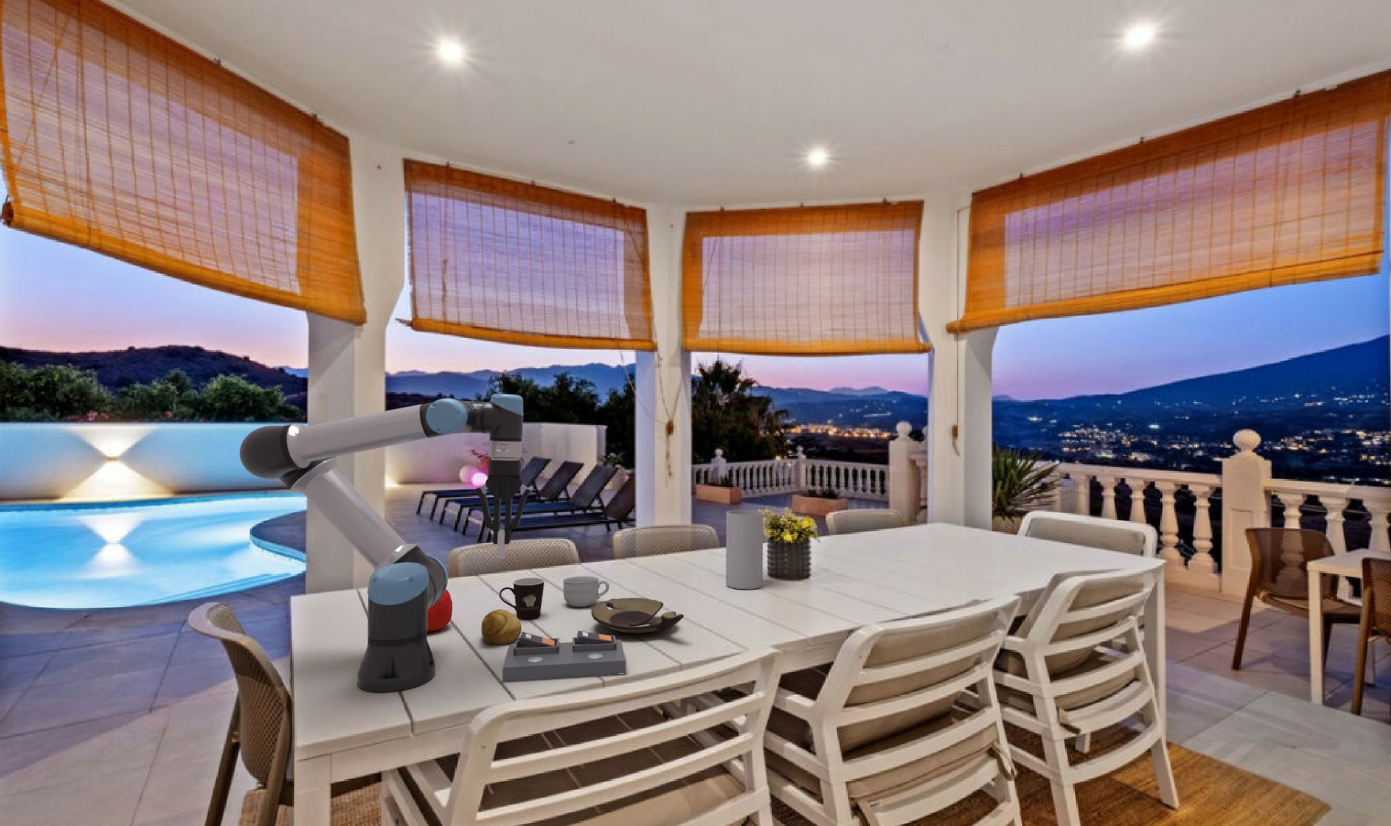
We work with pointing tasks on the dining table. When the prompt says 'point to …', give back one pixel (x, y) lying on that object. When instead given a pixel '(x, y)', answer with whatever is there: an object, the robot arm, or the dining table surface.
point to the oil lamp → (634, 615)
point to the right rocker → (593, 638)
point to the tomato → (440, 613)
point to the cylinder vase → (744, 549)
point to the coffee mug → (527, 597)
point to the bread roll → (500, 627)
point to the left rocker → (535, 640)
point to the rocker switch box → (563, 660)
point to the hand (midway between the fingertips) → (500, 557)
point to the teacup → (583, 590)
